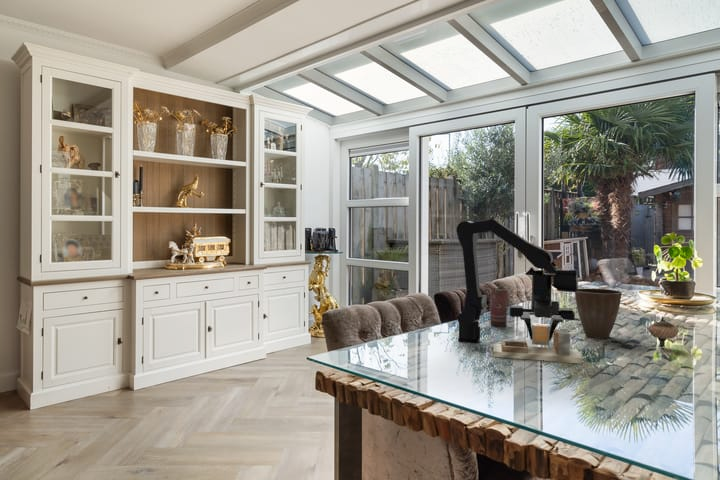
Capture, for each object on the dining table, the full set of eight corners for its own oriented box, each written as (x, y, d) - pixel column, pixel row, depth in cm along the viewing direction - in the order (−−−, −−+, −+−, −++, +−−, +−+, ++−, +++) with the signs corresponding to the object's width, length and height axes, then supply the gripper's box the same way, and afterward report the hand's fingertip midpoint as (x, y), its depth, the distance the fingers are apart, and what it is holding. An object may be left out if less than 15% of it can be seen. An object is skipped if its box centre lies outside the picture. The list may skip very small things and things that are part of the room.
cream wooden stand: (493, 356, 142) (493, 330, 142) (493, 348, 152) (493, 324, 152) (582, 363, 136) (583, 336, 136) (576, 354, 145) (577, 329, 145)
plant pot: (573, 338, 167) (575, 291, 167) (572, 330, 181) (573, 287, 181) (623, 342, 162) (624, 294, 161) (618, 333, 176) (619, 289, 175)
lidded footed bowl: (680, 347, 156) (681, 316, 155) (674, 352, 150) (675, 320, 149) (650, 343, 161) (651, 313, 161) (644, 347, 155) (645, 316, 155)
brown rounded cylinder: (508, 327, 185) (508, 290, 185) (490, 326, 186) (491, 289, 186) (506, 324, 191) (507, 288, 191) (489, 323, 192) (490, 287, 192)
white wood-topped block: (531, 342, 154) (531, 323, 154) (548, 343, 153) (548, 324, 153) (532, 344, 151) (532, 325, 150) (549, 346, 149) (549, 326, 149)
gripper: (511, 291, 146) (509, 343, 146) (578, 295, 141) (577, 348, 142) (509, 287, 157) (508, 335, 157) (572, 290, 152) (571, 340, 152)
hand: (540, 340), depth 152 cm, fingers closed on white wood-topped block, 5 cm apart
